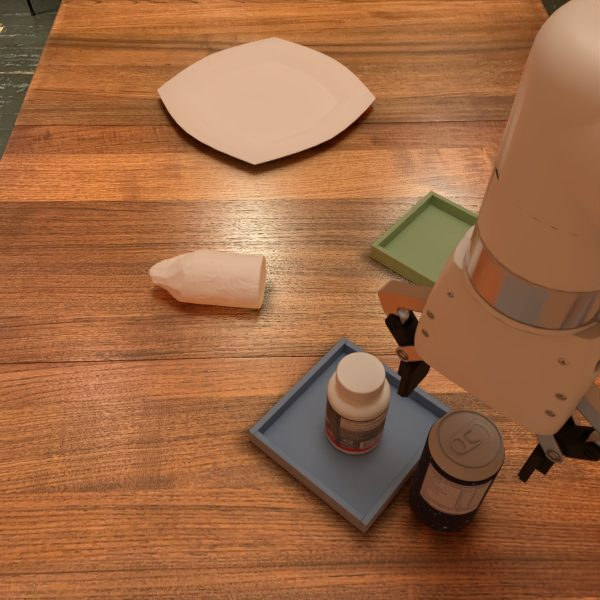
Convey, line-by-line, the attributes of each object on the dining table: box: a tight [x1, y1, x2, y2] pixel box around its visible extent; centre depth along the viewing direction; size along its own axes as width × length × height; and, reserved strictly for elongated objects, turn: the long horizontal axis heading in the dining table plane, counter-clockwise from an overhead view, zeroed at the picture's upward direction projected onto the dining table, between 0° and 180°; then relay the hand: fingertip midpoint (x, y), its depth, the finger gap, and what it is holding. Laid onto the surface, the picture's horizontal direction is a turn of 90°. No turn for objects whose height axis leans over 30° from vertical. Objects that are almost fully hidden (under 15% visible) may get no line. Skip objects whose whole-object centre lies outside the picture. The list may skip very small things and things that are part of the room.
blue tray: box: [248, 336, 453, 535], centre depth 60 cm, size 13×14×2 cm
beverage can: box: [408, 408, 506, 534], centre depth 52 cm, size 6×6×12 cm
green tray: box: [369, 190, 478, 288], centre depth 75 cm, size 12×12×2 cm
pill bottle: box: [325, 352, 391, 455], centre depth 57 cm, size 5×5×10 cm
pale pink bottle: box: [148, 249, 267, 310], centre depth 69 cm, size 6×12×6 cm, turn 84°
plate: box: [156, 36, 377, 166], centre depth 93 cm, size 27×27×2 cm
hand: (469, 422), depth 46 cm, fingers open, 9 cm apart
